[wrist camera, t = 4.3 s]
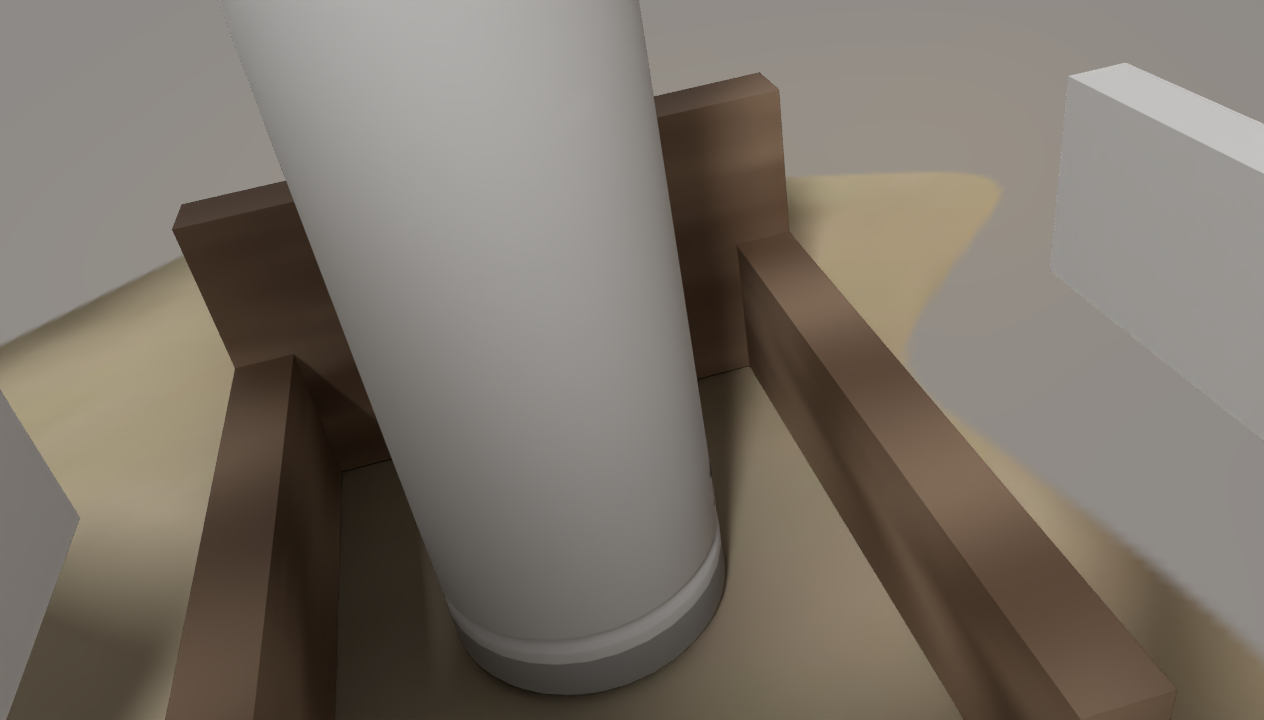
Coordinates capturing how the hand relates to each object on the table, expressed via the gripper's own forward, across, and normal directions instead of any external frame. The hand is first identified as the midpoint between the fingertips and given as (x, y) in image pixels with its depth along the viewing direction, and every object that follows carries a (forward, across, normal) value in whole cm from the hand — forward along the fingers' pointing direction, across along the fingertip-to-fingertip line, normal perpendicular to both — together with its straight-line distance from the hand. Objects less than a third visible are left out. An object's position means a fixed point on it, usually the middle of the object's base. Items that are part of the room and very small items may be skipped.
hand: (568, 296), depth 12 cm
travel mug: (+6, 0, -11) cm, 13 cm away
